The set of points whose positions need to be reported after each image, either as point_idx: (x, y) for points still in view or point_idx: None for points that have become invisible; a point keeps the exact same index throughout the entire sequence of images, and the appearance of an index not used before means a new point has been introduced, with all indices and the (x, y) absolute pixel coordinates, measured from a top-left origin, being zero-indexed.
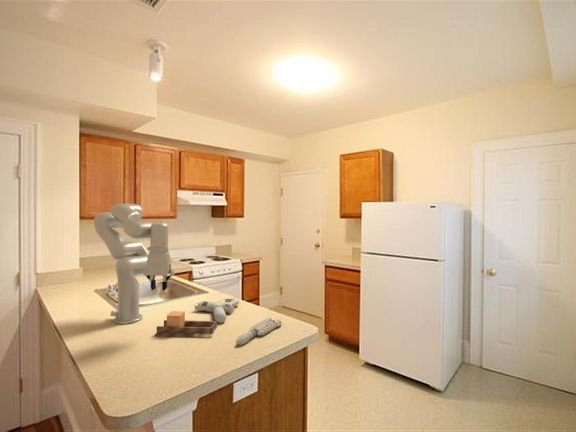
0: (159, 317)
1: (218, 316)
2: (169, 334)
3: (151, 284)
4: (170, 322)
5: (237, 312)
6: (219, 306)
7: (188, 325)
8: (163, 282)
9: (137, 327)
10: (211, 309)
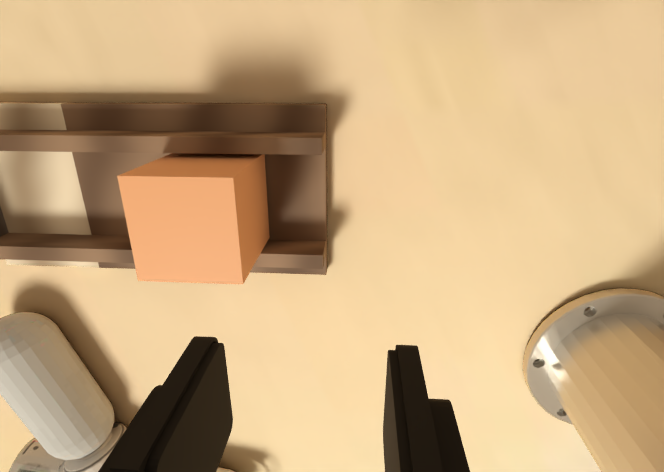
0: None
1: (5, 331)
2: (225, 105)
3: (429, 427)
4: (220, 164)
5: None
6: (57, 456)
7: None
8: (121, 457)
9: (501, 243)
10: None
